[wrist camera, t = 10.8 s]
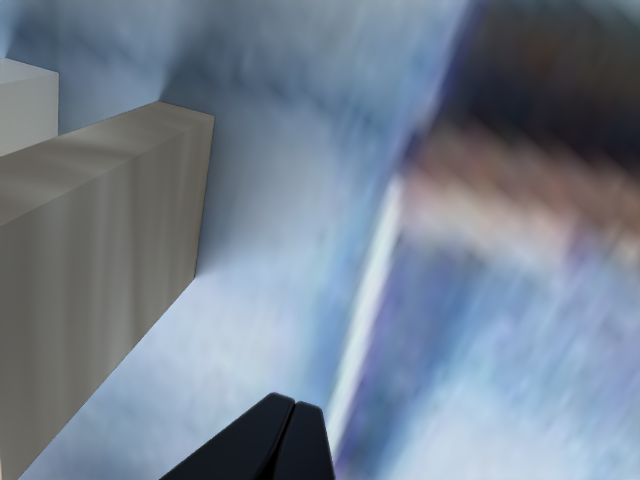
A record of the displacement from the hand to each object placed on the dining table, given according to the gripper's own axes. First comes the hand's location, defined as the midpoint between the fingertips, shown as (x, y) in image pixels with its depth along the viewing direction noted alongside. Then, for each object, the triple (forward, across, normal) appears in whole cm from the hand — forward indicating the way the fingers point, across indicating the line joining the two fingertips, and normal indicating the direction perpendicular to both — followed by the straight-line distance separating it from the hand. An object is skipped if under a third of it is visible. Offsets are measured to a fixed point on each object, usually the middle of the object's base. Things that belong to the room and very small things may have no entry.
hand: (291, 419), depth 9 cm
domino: (+7, +5, 0) cm, 9 cm away
